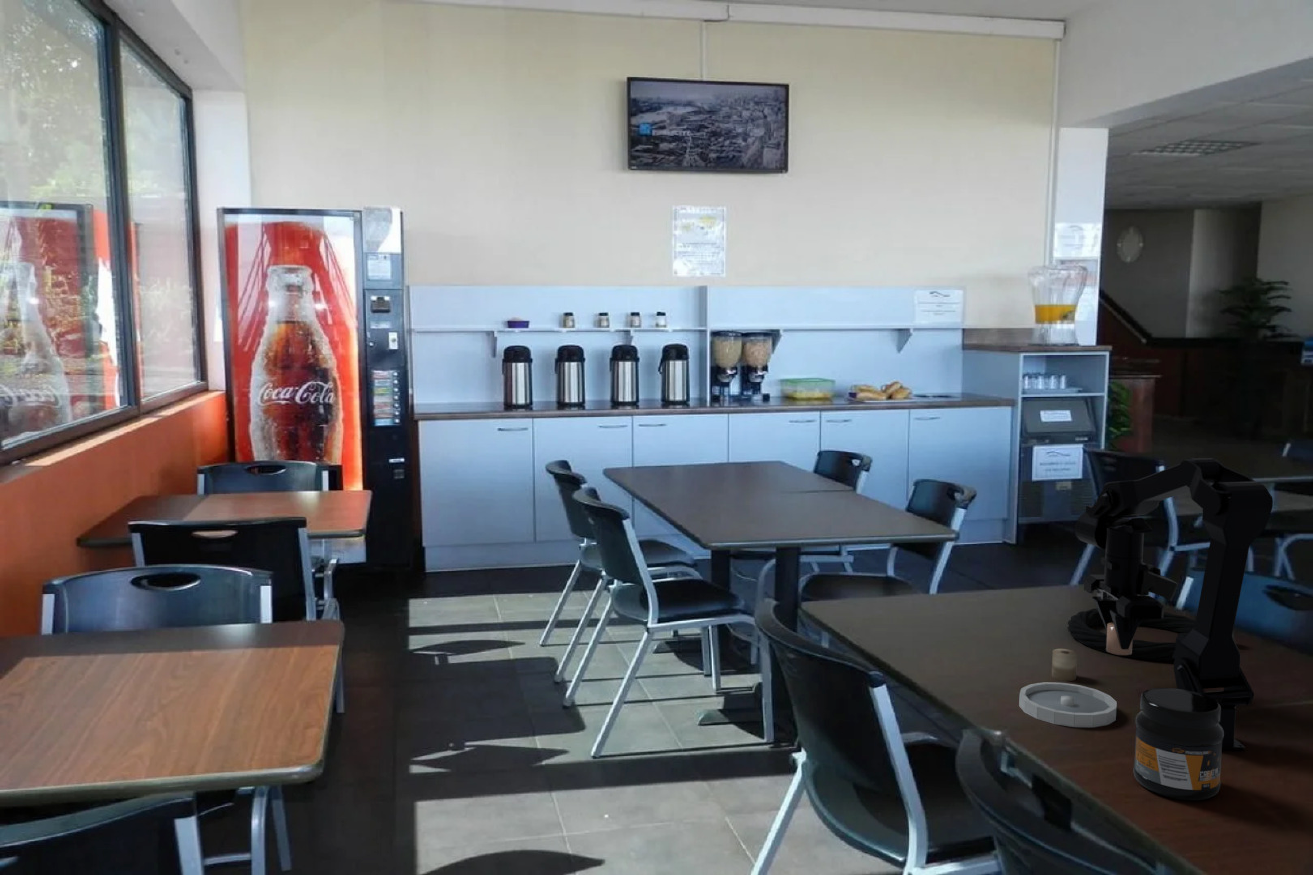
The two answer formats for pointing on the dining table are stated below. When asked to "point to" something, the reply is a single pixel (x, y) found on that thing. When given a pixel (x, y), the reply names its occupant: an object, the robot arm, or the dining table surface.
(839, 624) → the dining table surface
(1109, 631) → the terracotta bead
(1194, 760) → the supplement container
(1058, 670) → the maple bead
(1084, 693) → the ring tray
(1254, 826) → the dining table surface
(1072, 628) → the cable lock
